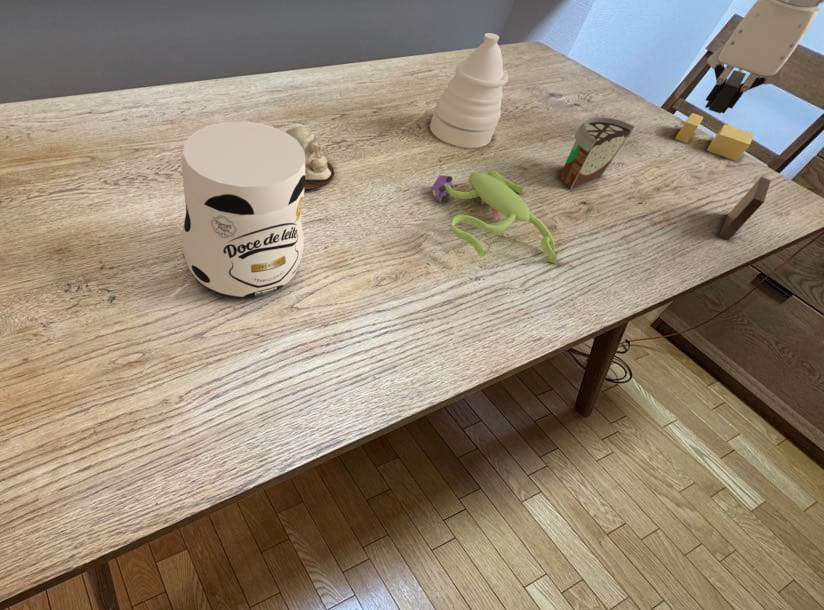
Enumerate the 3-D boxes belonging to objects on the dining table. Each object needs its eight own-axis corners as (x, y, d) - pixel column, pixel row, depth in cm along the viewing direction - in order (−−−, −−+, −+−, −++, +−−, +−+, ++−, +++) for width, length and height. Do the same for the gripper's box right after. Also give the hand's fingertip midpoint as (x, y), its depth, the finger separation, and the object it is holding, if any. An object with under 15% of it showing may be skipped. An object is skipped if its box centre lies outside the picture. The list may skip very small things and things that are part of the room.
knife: (720, 113, 98) (738, 88, 94) (708, 109, 99) (726, 84, 95) (735, 86, 106) (752, 61, 103) (723, 82, 107) (740, 58, 103)
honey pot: (479, 156, 102) (519, 54, 87) (419, 135, 105) (449, 33, 91) (498, 131, 109) (539, 32, 94) (442, 111, 112) (473, 13, 97)
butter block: (739, 152, 112) (754, 134, 108) (734, 163, 109) (750, 144, 106) (710, 142, 114) (724, 123, 110) (705, 152, 111) (719, 133, 107)
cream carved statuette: (348, 162, 95) (339, 136, 85) (322, 214, 97) (309, 195, 87) (293, 138, 98) (277, 110, 88) (268, 189, 99) (251, 168, 90)
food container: (579, 162, 104) (608, 110, 96) (604, 177, 101) (636, 125, 93) (539, 176, 100) (566, 123, 91) (564, 193, 97) (594, 140, 89)
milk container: (267, 325, 71) (275, 210, 56) (161, 280, 75) (143, 161, 60) (318, 256, 81) (336, 142, 66) (222, 219, 84) (220, 103, 69)
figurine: (447, 272, 81) (460, 242, 76) (420, 176, 96) (429, 147, 92) (560, 278, 82) (579, 249, 77) (515, 183, 97) (529, 154, 93)
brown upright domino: (735, 220, 96) (771, 180, 89) (726, 242, 91) (764, 202, 85) (726, 216, 96) (761, 176, 90) (717, 238, 92) (753, 198, 85)
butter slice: (690, 135, 115) (703, 116, 112) (684, 145, 112) (698, 126, 109) (679, 131, 116) (692, 112, 112) (673, 140, 113) (686, 122, 109)
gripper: (852, 1, 86) (762, 115, 101) (749, -25, 91) (677, 88, 106) (850, 11, 82) (756, 129, 97) (742, -16, 87) (669, 100, 102)
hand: (716, 107), depth 101 cm, fingers closed on knife, 2 cm apart
